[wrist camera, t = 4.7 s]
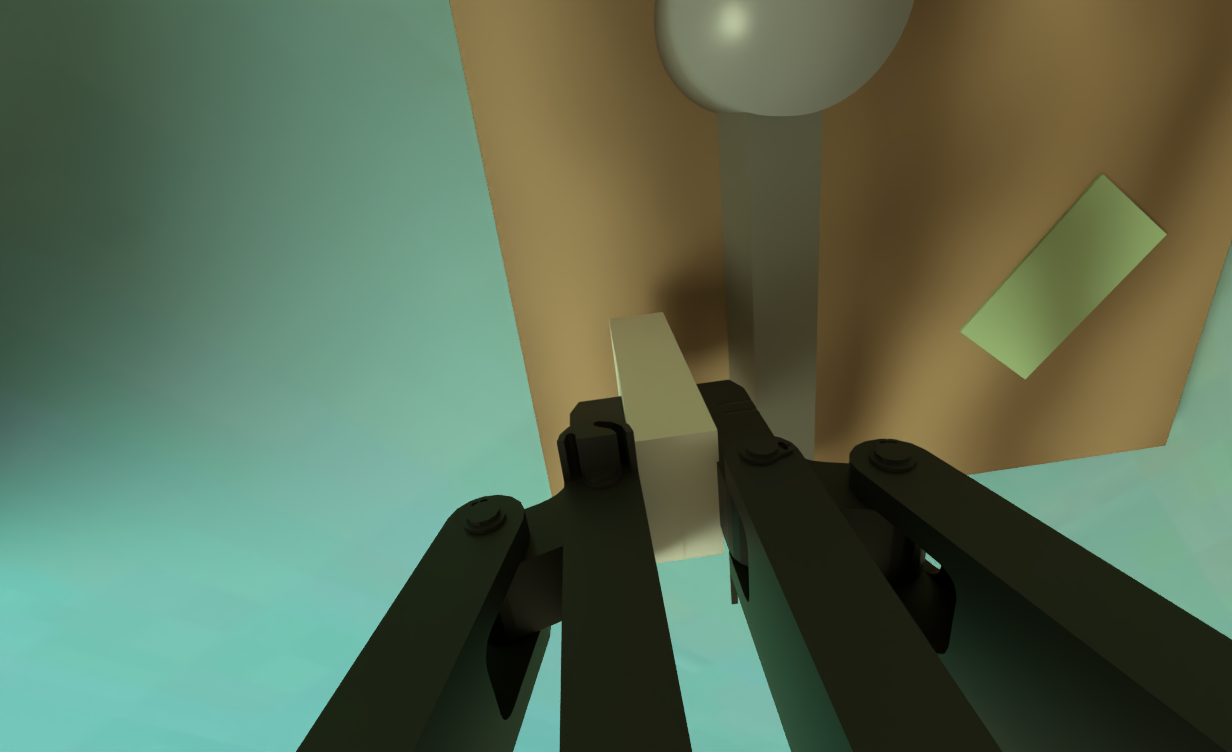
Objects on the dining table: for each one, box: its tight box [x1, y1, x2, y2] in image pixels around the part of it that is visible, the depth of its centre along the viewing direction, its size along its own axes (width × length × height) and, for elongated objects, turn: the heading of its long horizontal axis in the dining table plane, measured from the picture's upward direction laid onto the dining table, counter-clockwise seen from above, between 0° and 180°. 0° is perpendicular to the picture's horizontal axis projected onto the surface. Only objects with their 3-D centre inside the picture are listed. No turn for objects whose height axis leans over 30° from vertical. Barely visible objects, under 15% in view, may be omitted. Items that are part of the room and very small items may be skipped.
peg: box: [654, 0, 914, 461], centre depth 15 cm, size 16×4×4 cm, turn 7°
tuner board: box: [449, 0, 1232, 497], centre depth 17 cm, size 22×18×1 cm
